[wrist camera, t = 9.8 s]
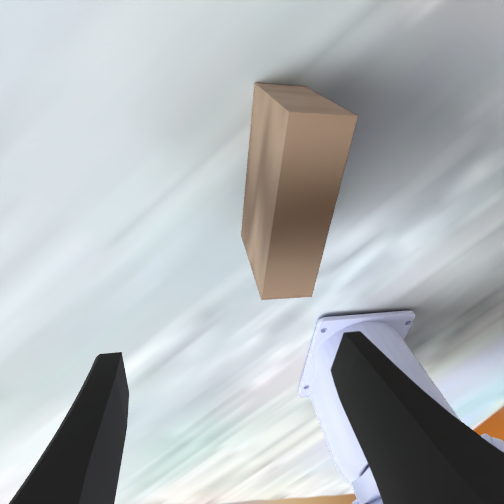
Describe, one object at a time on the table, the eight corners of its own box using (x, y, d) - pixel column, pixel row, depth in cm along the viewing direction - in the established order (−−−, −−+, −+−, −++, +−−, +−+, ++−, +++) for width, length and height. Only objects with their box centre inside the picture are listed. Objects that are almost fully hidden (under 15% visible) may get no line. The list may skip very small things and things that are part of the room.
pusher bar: (280, 233, 20) (311, 296, 16) (240, 234, 20) (261, 299, 15) (304, 86, 16) (358, 116, 11) (254, 82, 15) (288, 112, 11)
